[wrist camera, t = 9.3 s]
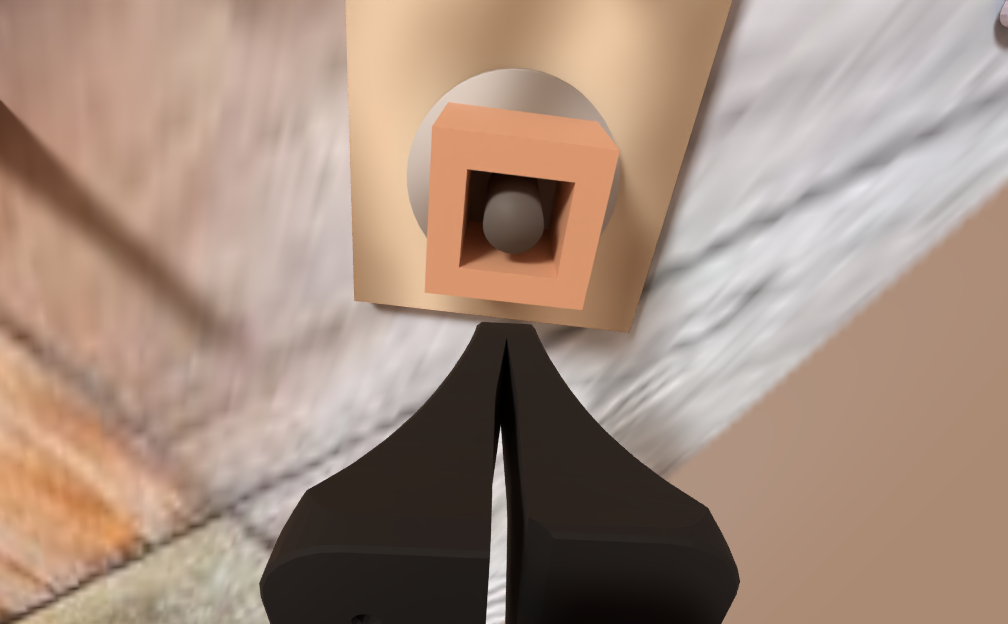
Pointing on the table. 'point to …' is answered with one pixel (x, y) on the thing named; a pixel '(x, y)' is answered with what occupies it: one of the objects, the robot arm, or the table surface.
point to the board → (527, 88)
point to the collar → (524, 152)
